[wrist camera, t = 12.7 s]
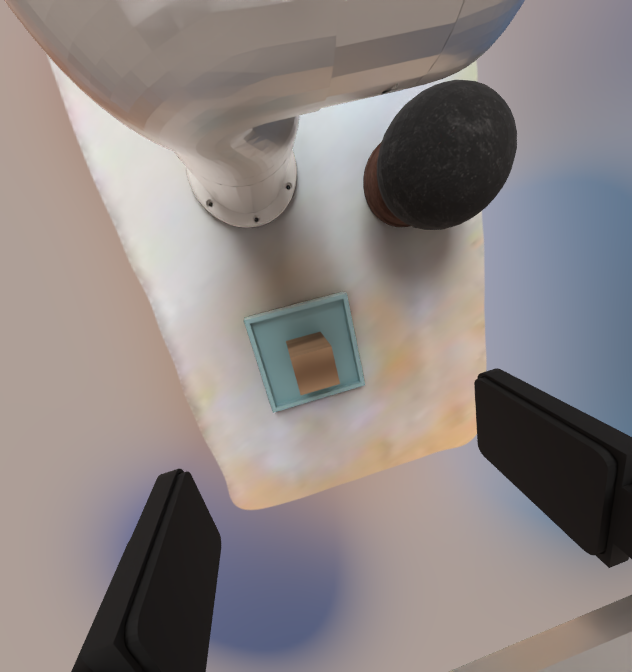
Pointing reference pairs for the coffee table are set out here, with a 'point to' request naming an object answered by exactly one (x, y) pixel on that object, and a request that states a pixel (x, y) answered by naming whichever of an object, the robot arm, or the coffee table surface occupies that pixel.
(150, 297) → the coffee table surface
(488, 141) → the black ball on stand
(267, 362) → the teal dish
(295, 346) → the walnut block
